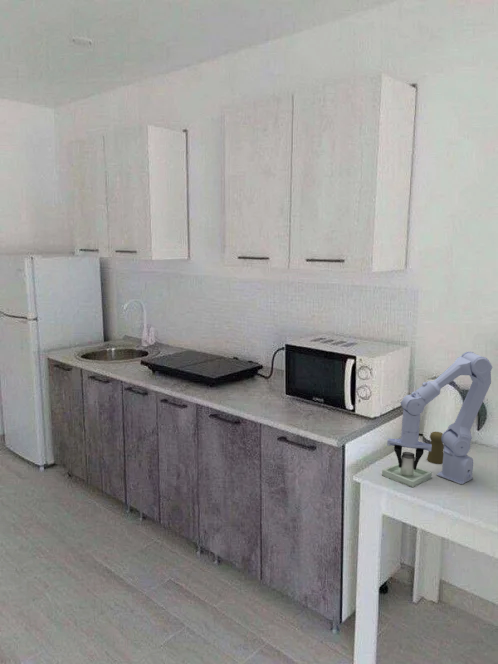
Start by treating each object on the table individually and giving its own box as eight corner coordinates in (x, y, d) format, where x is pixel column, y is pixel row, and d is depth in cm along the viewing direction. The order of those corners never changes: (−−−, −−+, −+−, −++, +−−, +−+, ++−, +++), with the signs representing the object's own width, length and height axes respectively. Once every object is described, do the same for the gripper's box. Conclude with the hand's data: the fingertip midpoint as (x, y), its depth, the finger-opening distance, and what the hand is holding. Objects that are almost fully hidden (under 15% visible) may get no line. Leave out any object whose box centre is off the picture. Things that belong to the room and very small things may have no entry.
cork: (446, 464, 192) (448, 435, 191) (429, 463, 193) (432, 435, 191) (440, 457, 198) (443, 430, 197) (424, 457, 199) (427, 429, 197)
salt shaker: (416, 473, 181) (417, 454, 180) (409, 476, 178) (410, 457, 177) (404, 469, 184) (406, 450, 183) (397, 472, 181) (399, 453, 180)
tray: (431, 477, 181) (432, 472, 180) (412, 487, 173) (413, 482, 172) (401, 466, 189) (401, 461, 189) (382, 475, 182) (382, 469, 181)
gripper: (432, 429, 180) (429, 466, 182) (389, 423, 184) (386, 459, 187) (432, 435, 173) (429, 474, 175) (387, 430, 178) (385, 467, 180)
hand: (407, 467), depth 181 cm, fingers closed on salt shaker, 4 cm apart
